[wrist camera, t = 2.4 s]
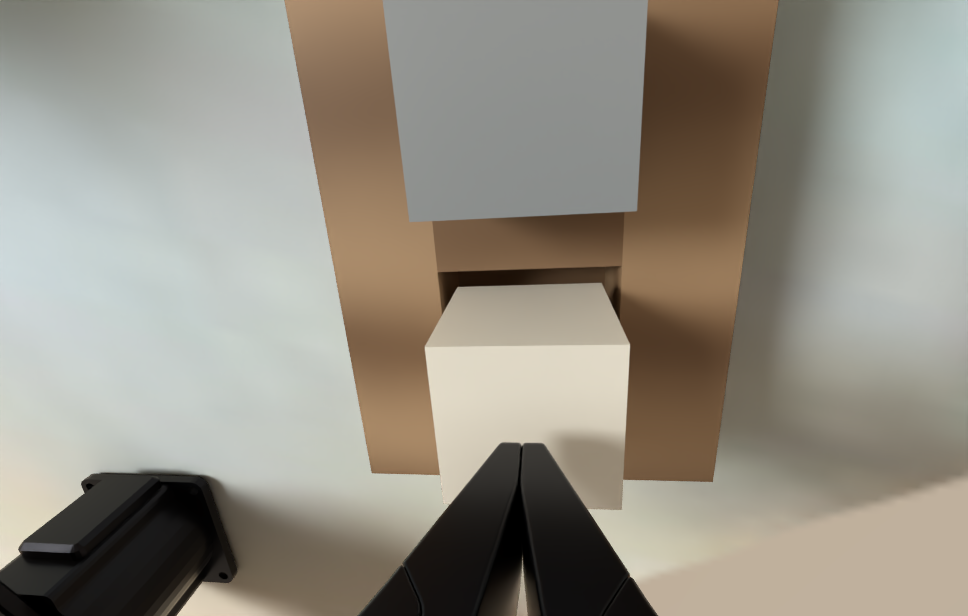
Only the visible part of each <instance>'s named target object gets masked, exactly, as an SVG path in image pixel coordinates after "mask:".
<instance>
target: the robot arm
mask: <svg viewBox="0 0 968 616" xmlns="http://www.w3.org/2000/svg"><path fill="white" fill-rule="evenodd" d="M81 485H82V488H83V491H84V493H85V494H83V495H82V496H81V497H79V498H78V499H77V500H76V501H74V502H73V503H72V504H70V505H69V506H68V507H67V508H65V509H64V510H63V511H61V512H60V513H59V514H57V515H56V516H55V517H54V518H52V519H51V520H50V521H48V522H47V523H46V524H45V525H43V526H42V527H41V528H39V529H38V530H37V531H36V532H34V533H33V534H32V535H30V536H29V537H28V538H27V539H25V540H24V541H23V542H22V544H21V545H20V546H19V549H18V550H19V552H20V553H21V554H20V555H19V556H18V557H16V558H15V559H14V560H13V561H11V562H10V563H9V564H8V565H6V566H5V567H4V568H3V569H1V570H0V616H177V614H178V613H179V612H180V610H181V609H182V608H183V606H184V605H185V604H186V602H187V601H188V600H189V599H190V597H191V596H192V595H193V593H194V592H195V591H196V589H197V588H198V587H199V585H200V584H201V583H202V581H205V582H221V583H229V582H231V581H232V580H233V578H234V577H235V575H236V574H237V567H236V565H235V562H234V559H233V556H232V553H231V550H230V547H229V544H228V541H227V538H226V535H225V532H224V530H223V527H222V524H221V521H220V518H219V515H218V512H217V509H216V506H215V503H214V500H213V497H212V495H211V492H210V489H209V486H208V484H207V482H206V481H205V480H204V479H202V478H200V477H196V476H162V475H126V474H91V475H90V476H89V477H87V478H86V479H84V480H83V481H82V483H81ZM522 561H523V570H524V583H525V593H526V602H527V612H528V616H658V615H657V613H656V612H655V611H654V609H653V608H652V606H651V605H650V603H649V602H648V601H647V599H646V598H645V596H644V595H643V593H642V592H641V590H640V588H639V587H638V585H637V584H636V582H635V581H634V579H633V578H631V577H630V574H629V572H628V571H627V569H626V567H625V566H624V564H623V563H622V561H621V560H620V558H619V557H618V555H617V554H616V552H615V551H614V549H613V548H612V546H611V545H610V543H609V542H608V540H607V539H606V537H605V535H604V534H603V532H602V531H601V529H600V528H599V526H598V525H597V523H596V522H595V520H594V519H593V517H592V516H591V514H590V513H589V511H588V510H587V508H586V507H585V505H584V503H583V502H582V500H581V499H580V497H579V496H578V494H577V493H576V491H575V490H574V488H573V487H572V485H571V484H570V482H569V481H568V479H567V478H566V476H565V475H564V473H563V471H562V470H561V468H560V467H559V465H558V464H557V462H556V461H555V459H554V458H553V456H552V455H551V453H550V452H549V450H548V449H547V447H546V446H545V444H543V443H524V444H523V445H521V444H520V443H518V442H502V443H500V444H499V445H498V446H497V447H496V448H495V450H494V451H493V452H492V453H491V455H490V456H489V457H488V458H487V460H486V461H485V462H484V463H483V465H482V466H481V467H480V468H479V469H478V471H477V472H476V473H475V474H474V476H473V477H472V478H471V479H470V481H469V482H468V483H467V484H466V485H465V487H464V488H463V489H462V490H461V492H460V493H459V494H458V495H457V497H456V498H455V499H454V500H453V501H452V503H451V504H450V505H449V506H448V508H447V509H446V510H445V511H444V513H443V514H442V515H441V516H440V517H439V519H438V520H437V521H436V522H435V524H434V525H433V526H432V527H431V529H430V530H429V531H428V532H427V533H426V535H425V536H424V537H423V538H422V540H421V541H420V542H419V543H418V545H417V546H416V547H415V548H414V549H413V551H412V552H411V553H410V554H409V556H408V557H407V558H406V559H405V561H404V562H403V566H399V568H398V569H397V570H396V571H395V573H394V574H393V575H392V576H391V577H390V579H389V580H388V581H387V582H386V584H385V585H384V586H383V587H382V588H381V589H380V591H379V592H378V593H377V594H376V595H375V596H374V598H373V599H372V600H371V601H370V602H369V603H368V605H367V606H366V607H365V608H364V609H363V610H362V611H361V612H360V613H359V615H358V616H516V614H517V606H518V599H519V591H520V584H521V574H522Z"/></svg>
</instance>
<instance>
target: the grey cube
mask: <svg viewBox="0 0 968 616" xmlns="http://www.w3.org/2000/svg"><path fill="white" fill-rule="evenodd" d="M383 8H384V17H385V25H386V33H387V41H388V50H389V58H390V66H391V74H392V83H393V91H394V99H395V107H396V116H397V124H398V132H399V140H400V149H401V157H402V165H403V173H404V182H405V190H406V198H407V206H408V215H409V222H424V221H445V220H466V219H486V218H507V217H528V216H549V215H569V214H590V213H611V212H632V211H637V201H638V182H639V162H640V143H641V124H642V104H643V85H644V66H645V46H646V27H647V8H648V0H383Z"/></svg>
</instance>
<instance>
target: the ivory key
mask: <svg viewBox="0 0 968 616" xmlns="http://www.w3.org/2000/svg"><path fill="white" fill-rule="evenodd" d="M425 355H426V363H427V372H428V380H429V388H430V396H431V405H432V413H433V421H434V429H435V438H436V446H437V454H438V462H439V471H440V479H441V487H442V495H443V504H451V503H452V501H453V500H454V499H455V498H456V497H457V495H458V494H459V493H460V492H461V490H462V489H463V488H464V487H465V485H466V484H467V483H468V482H469V481H470V479H471V478H472V477H473V476H474V474H475V473H476V472H477V471H478V469H479V468H480V467H481V466H482V465H483V463H484V462H485V461H486V460H487V458H488V457H489V456H490V455H491V453H492V452H493V451H494V450H495V448H496V447H497V446H498V445H499V444H500V443H502V442H518V443H520V444H521V445H523V444H524V443H543V444H545V446H546V447H547V449H548V450H549V452H550V453H551V455H552V456H553V458H554V459H555V461H556V462H557V464H558V465H559V467H560V468H561V470H562V471H563V473H564V475H565V476H566V478H567V479H568V481H569V482H570V484H571V485H572V487H573V488H574V490H575V491H576V493H577V494H578V496H579V497H580V499H581V500H582V502H583V503H584V505H585V507H586V508H587V509H610V510H622V491H623V472H624V452H625V433H626V414H627V394H628V375H629V356H630V343H629V341H628V339H627V337H626V335H625V333H624V330H623V328H622V326H621V324H620V322H619V320H618V317H617V315H616V313H615V311H614V309H613V307H612V304H611V302H610V300H609V298H608V296H607V294H606V291H605V289H604V287H603V285H602V283H579V284H544V285H510V286H475V287H457V289H456V291H455V293H454V294H453V296H452V298H451V300H450V302H449V303H448V305H447V307H446V309H445V311H444V313H443V314H442V316H441V318H440V320H439V322H438V323H437V325H436V327H435V329H434V331H433V333H432V334H431V336H430V338H429V340H428V342H427V343H426V345H425Z"/></svg>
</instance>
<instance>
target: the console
mask: <svg viewBox="0 0 968 616" xmlns="http://www.w3.org/2000/svg"><path fill="white" fill-rule="evenodd" d="M284 1H285V6H286V11H287V17H288V22H289V28H290V33H291V38H292V44H293V49H294V55H295V60H296V65H297V71H298V76H299V82H300V87H301V92H302V98H303V103H304V109H305V114H306V119H307V125H308V130H309V136H310V141H311V146H312V152H313V157H314V163H315V168H316V174H317V179H318V184H319V190H320V195H321V201H322V206H323V211H324V217H325V222H326V228H327V233H328V238H329V244H330V249H331V255H332V260H333V265H334V271H335V276H336V282H337V287H338V292H339V298H340V303H341V309H342V314H343V319H344V325H345V330H346V336H347V341H348V347H349V352H350V357H351V363H352V368H353V374H354V379H355V384H356V390H357V395H358V401H359V406H360V411H361V417H362V422H363V428H364V433H365V438H366V444H367V449H368V455H369V460H370V465H371V471H372V473H385V474H424V475H440V471H439V462H438V454H437V446H436V438H435V429H434V421H433V413H432V405H431V396H430V388H429V380H428V372H427V363H426V355H425V345H426V343H427V342H428V340H429V338H430V336H431V334H432V333H433V331H434V329H435V327H436V325H437V323H438V322H439V320H440V318H441V316H442V314H443V313H444V311H445V309H446V307H447V305H448V303H449V302H450V300H451V298H452V296H453V294H454V293H455V291H456V289H457V287H475V286H510V285H544V284H579V283H602V285H603V287H604V289H605V291H606V294H607V296H608V298H609V300H610V302H611V304H612V307H613V309H614V311H615V313H616V315H617V317H618V320H619V322H620V324H621V326H622V328H623V330H624V333H625V335H626V337H627V339H628V341H629V343H630V356H629V375H628V394H627V414H626V433H625V452H624V472H623V480H661V481H700V482H713V476H714V469H715V461H716V454H717V447H718V440H719V432H720V425H721V418H722V410H723V403H724V396H725V388H726V381H727V374H728V367H729V359H730V352H731V345H732V337H733V330H734V323H735V315H736V308H737V301H738V293H739V286H740V279H741V272H742V264H743V257H744V250H745V242H746V235H747V228H748V220H749V213H750V206H751V198H752V191H753V184H754V177H755V169H756V162H757V155H758V147H759V140H760V133H761V125H762V118H763V111H764V103H765V96H766V89H767V82H768V74H769V67H770V60H771V52H772V45H773V38H774V30H775V23H776V16H777V9H778V1H779V0H648V8H647V27H646V46H645V66H644V85H643V104H642V124H641V143H640V162H639V182H638V201H637V211H632V212H611V213H590V214H569V215H549V216H528V217H507V218H486V219H466V220H445V221H424V222H409V215H408V206H407V198H406V190H405V182H404V173H403V165H402V157H401V149H400V140H399V132H398V124H397V116H396V107H395V99H394V91H393V83H392V74H391V66H390V58H389V50H388V41H387V33H386V25H385V17H384V8H383V0H284Z"/></svg>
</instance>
